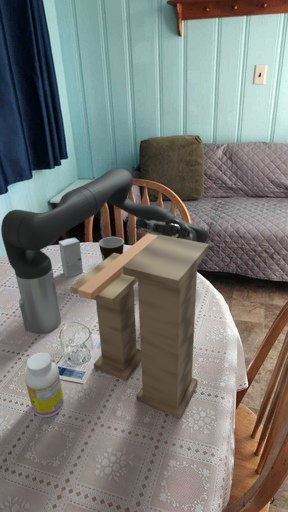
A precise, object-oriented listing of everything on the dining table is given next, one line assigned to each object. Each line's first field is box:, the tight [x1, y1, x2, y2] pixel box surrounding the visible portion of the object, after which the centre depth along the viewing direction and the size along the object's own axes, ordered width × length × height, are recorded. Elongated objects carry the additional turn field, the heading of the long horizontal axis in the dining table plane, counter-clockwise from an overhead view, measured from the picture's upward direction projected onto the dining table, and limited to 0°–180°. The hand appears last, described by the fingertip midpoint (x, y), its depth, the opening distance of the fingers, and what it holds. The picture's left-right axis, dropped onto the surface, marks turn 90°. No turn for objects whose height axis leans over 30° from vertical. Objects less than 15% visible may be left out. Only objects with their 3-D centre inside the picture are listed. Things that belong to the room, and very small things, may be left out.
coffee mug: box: [98, 236, 125, 262], centre depth 127 cm, size 12×9×10 cm
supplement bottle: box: [24, 352, 65, 418], centre depth 73 cm, size 7×7×13 cm
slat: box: [77, 233, 158, 301], centre depth 78 cm, size 28×3×2 cm, turn 152°
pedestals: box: [70, 235, 210, 420], centre depth 75 cm, size 18×24×34 cm
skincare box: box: [58, 237, 84, 278], centre depth 123 cm, size 6×4×12 cm
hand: (153, 225), depth 86 cm, fingers open, 8 cm apart
